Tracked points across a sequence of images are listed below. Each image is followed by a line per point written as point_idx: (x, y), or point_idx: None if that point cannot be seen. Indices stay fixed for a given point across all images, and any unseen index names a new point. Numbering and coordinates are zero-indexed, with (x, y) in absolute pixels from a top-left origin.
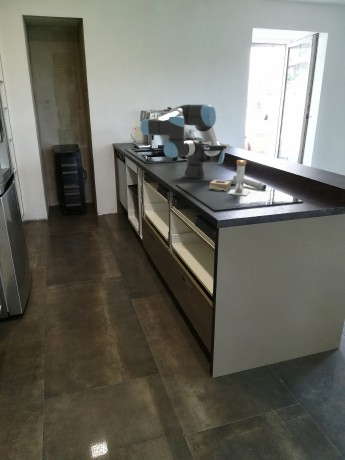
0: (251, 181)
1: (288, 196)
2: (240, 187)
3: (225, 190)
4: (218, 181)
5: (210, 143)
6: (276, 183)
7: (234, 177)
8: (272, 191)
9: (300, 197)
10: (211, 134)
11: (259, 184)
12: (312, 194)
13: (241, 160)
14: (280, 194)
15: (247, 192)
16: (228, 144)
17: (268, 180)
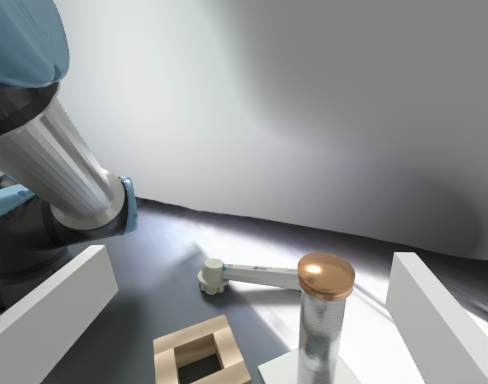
0: (277, 274)
1: None
2: (334, 380)
3: None
4: (180, 347)
5: (101, 267)
6: (281, 228)
7: (209, 273)
8: None
9: (452, 286)
10: (67, 149)
11: None
12: (417, 248)
13: (313, 260)
14: None
15: (339, 363)
16: (426, 268)
17: (251, 222)
